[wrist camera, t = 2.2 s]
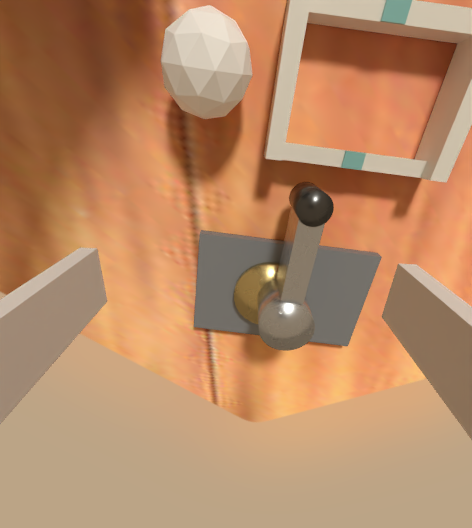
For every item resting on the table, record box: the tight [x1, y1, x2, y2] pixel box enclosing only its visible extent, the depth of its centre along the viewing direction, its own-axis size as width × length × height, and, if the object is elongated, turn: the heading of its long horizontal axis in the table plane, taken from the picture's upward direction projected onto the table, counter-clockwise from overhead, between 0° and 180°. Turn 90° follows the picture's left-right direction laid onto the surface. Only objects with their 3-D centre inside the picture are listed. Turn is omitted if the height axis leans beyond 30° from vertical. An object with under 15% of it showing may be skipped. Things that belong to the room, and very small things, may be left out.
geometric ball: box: [161, 5, 253, 119], centre depth 24 cm, size 8×8×8 cm
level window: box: [264, 0, 472, 182], centre depth 25 cm, size 18×13×4 cm
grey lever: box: [234, 182, 334, 350], centre depth 31 cm, size 9×19×7 cm, turn 173°
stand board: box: [194, 230, 381, 346], centre depth 36 cm, size 22×14×1 cm, turn 83°
